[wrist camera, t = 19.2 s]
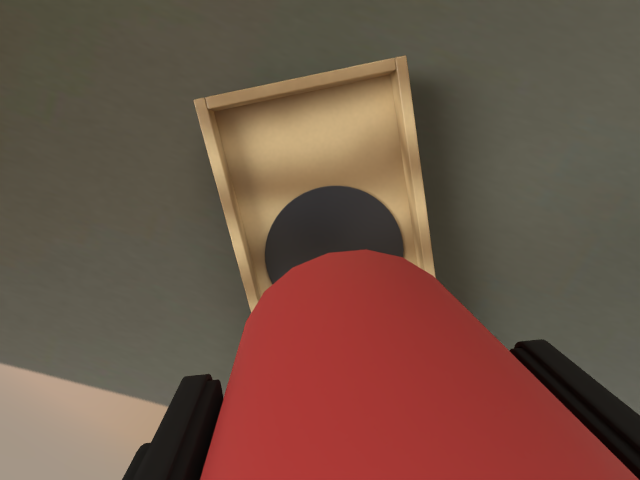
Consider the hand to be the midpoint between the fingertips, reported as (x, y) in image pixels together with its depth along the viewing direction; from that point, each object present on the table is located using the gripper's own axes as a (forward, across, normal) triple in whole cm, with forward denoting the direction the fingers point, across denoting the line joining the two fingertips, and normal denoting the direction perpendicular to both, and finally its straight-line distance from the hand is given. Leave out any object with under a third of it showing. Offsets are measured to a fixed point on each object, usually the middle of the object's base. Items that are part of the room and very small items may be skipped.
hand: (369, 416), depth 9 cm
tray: (+16, 0, +1) cm, 16 cm away
